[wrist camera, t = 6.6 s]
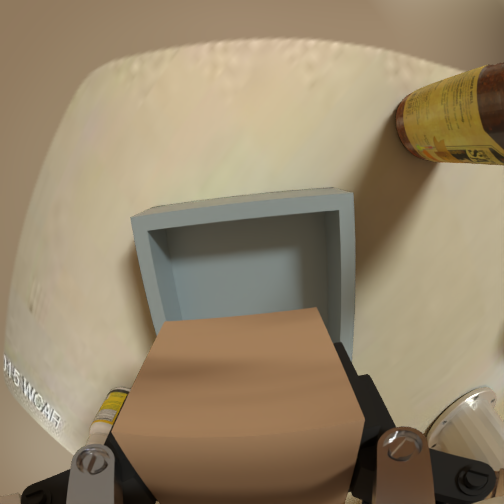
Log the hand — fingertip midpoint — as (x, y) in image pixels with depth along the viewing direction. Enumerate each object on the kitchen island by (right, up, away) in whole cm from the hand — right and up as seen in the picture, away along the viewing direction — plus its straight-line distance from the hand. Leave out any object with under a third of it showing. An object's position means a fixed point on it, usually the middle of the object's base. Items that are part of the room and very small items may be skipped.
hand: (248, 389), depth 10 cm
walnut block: (0, 0, +1) cm, 1 cm away
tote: (0, 0, +16) cm, 16 cm away
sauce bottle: (+15, +15, +12) cm, 24 cm away
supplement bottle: (-13, -12, +19) cm, 26 cm away
